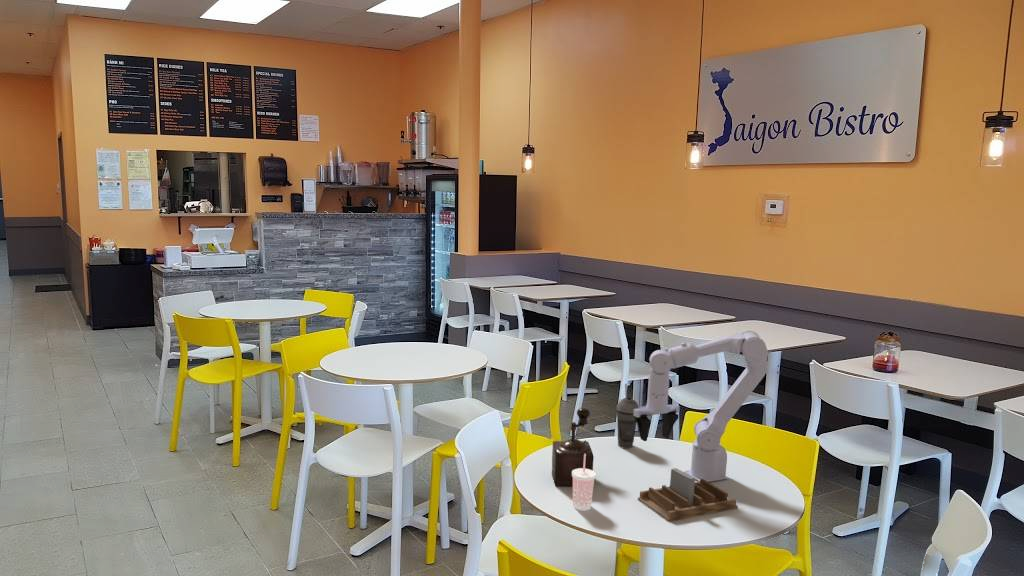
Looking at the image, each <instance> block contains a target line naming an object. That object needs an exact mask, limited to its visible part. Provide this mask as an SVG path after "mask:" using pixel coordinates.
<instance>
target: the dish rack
mask: <svg viewBox="0 0 1024 576" xmlns="http://www.w3.org/2000/svg"><path fill="white" fill-rule="evenodd" d="M637 501H638V502H640V503H642V504H643V505H645V506H646V507H647V508H649V510H651V511H652V512H654V513H656V514H657V515H658V516H660V517H661V518H662V519H664V520H665V521H666V522H673V521H677V520H683V519H688V518H694V517H698V516H704V515H710V514H715V513H720V512H724V511H729V510H733V509H735V510H736V509H738V505H737V499H736V498H731V499H729V493H727V492H725V491H724V490H723V489H721V488H719V487H717V486H716V485H715V484H713V483H710V482H707V481H706V480H704V479H700V482H699V481H695V486H694V498H693V507H688V505H689V501H688V500H687V499H685V498H684V497H682V496H681V495H679V494H677V493H676V492H674V491H673V490H671V489H670V486H667V485H666V484H665V485H664V484H663V485H661V487H659V488H653V487H648V490H642V491H639V497H637Z"/></svg>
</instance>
